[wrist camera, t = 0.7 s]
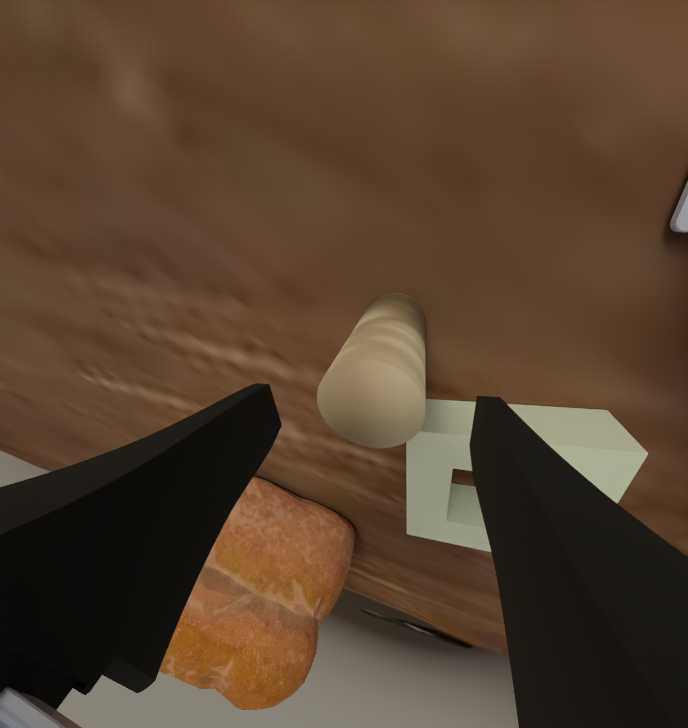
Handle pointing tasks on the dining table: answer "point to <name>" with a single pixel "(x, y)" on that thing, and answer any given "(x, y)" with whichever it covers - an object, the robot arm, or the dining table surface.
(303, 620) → the bread
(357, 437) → the peg
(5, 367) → the dining table surface
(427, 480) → the socket block
